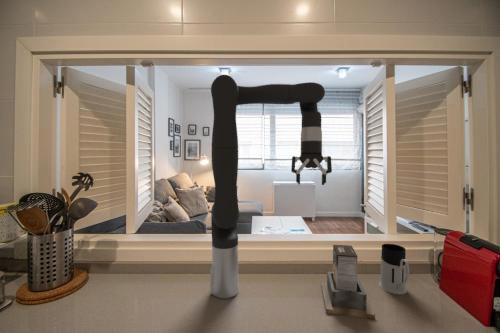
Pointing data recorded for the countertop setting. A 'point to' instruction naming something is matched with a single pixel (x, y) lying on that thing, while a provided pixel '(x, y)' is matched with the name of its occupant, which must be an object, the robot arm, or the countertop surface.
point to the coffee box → (344, 268)
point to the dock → (346, 300)
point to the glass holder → (393, 269)
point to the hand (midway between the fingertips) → (310, 184)
